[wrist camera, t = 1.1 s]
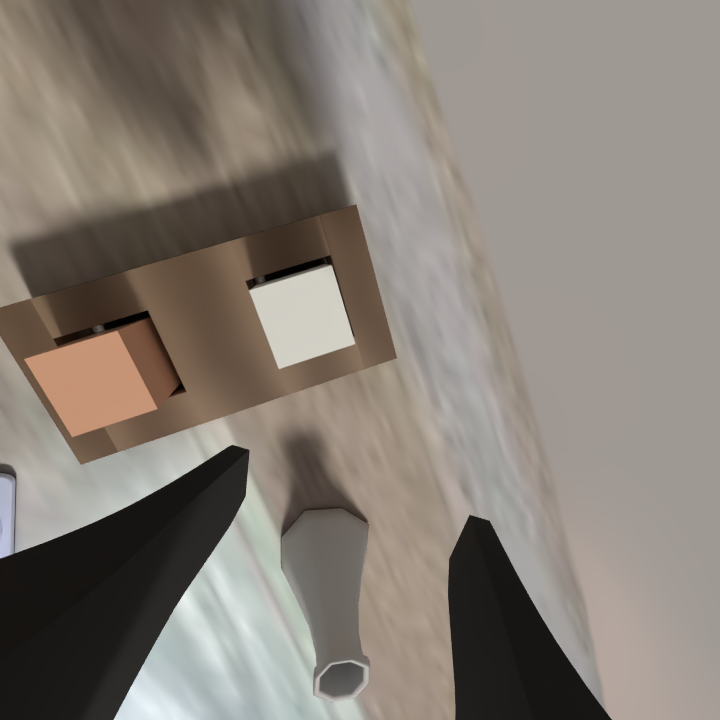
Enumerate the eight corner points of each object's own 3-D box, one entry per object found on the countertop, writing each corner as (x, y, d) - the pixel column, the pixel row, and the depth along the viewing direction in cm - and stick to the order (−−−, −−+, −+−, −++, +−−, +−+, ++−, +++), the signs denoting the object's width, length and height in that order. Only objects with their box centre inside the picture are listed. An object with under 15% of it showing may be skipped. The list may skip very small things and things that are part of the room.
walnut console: (110, 435, 23) (80, 464, 20) (34, 303, 21) (-15, 311, 17) (382, 345, 25) (396, 358, 22) (346, 212, 22) (356, 204, 19)
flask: (266, 572, 29) (254, 726, 19) (297, 495, 27) (301, 621, 18) (349, 585, 30) (376, 732, 21) (382, 515, 29) (426, 637, 20)
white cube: (281, 347, 22) (278, 369, 18) (257, 284, 21) (248, 290, 16) (342, 327, 22) (355, 343, 18) (323, 264, 21) (331, 265, 17)
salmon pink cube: (116, 401, 21) (72, 437, 17) (81, 337, 20) (24, 359, 16) (184, 379, 21) (157, 409, 17) (153, 315, 20) (117, 330, 16)
